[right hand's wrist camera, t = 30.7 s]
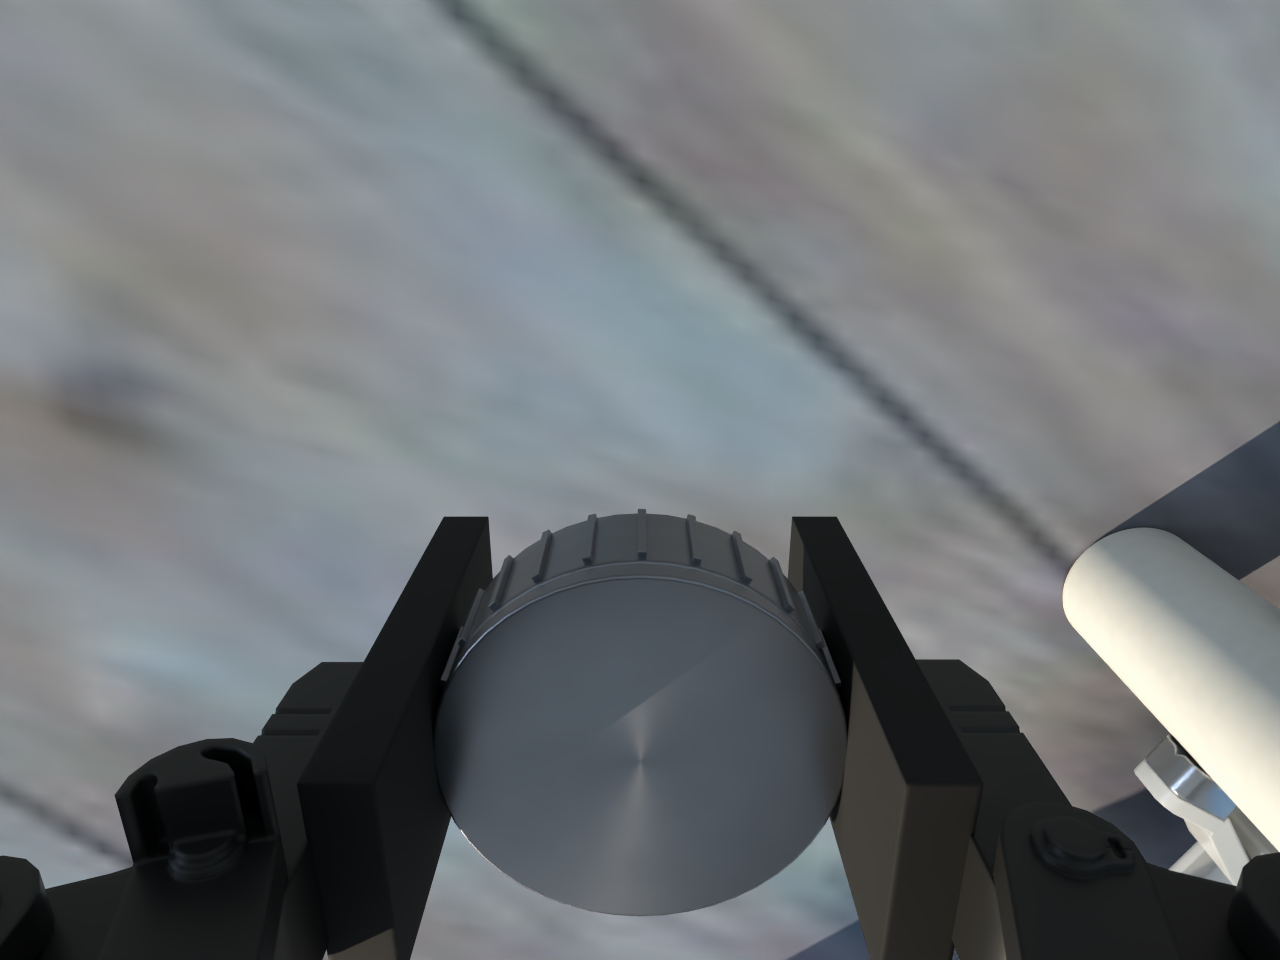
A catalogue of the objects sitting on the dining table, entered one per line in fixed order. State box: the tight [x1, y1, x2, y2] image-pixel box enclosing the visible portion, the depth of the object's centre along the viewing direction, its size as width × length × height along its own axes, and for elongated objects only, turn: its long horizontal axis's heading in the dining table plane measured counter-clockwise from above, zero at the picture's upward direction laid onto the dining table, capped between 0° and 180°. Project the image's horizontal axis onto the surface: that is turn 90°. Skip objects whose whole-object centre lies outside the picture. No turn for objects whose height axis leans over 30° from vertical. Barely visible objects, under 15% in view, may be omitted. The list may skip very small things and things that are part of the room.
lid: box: [433, 509, 848, 916], centre depth 11 cm, size 5×5×2 cm
